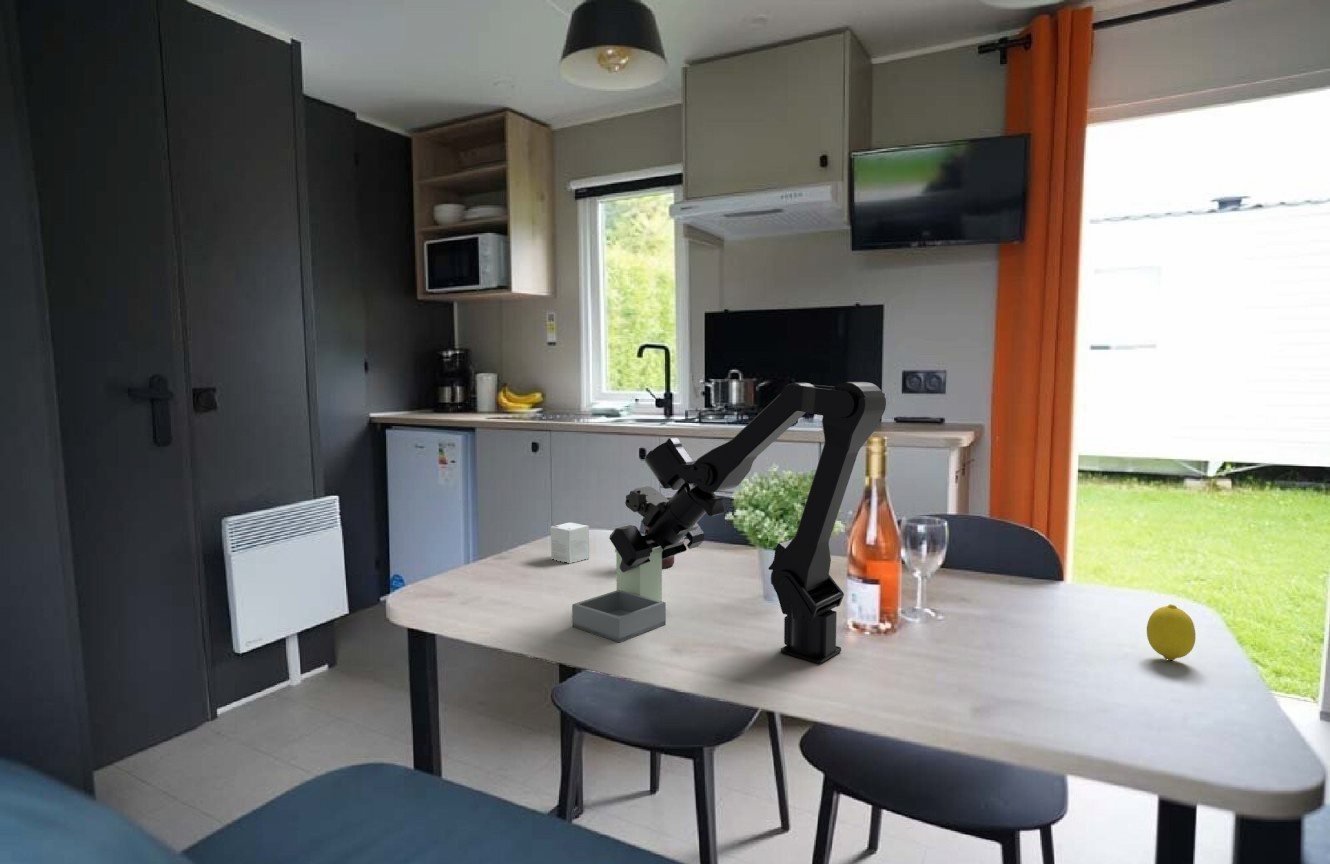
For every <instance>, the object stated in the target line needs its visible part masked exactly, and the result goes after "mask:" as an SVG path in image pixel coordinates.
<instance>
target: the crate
mask: <svg viewBox="0 0 1330 864" xmlns="http://www.w3.org/2000/svg"><path fill="white" fill-rule="evenodd" d="M571 604H572V605H571V611H572V612H571V613H572V614H571V615H572V619H571V622H572V628H575V629H578V630H581V631H584V632H588V633H590V634H593V635H596V636H599V637H601V638H604V639H605V638H606V639H608V640H611V641H613V642H617V643H620V644H621V643H622V642H624V641H627V640H630V639H633V638H635V637H637V636H640V635H643V634H645V633H648V632H650V631H653V630H655V629H657V628H660V627H663V626H666V623H667V619H666V613H667V612H666V611H667V609H666V602H665V601H663V600H662V601H659V600H655V599H651V598H648V597H644V596H640V595H636V594H633V593H629V592H625V591H622V590H617V589H616V590H613V591H610V592H606V593H605V594H601V595H600V594H599V595H598V596H595V597H591V598H587V599H585V600H582V601H578V602H575V603H571Z"/></svg>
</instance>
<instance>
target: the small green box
mask: <svg viewBox="0 0 1330 864" xmlns="http://www.w3.org/2000/svg"><path fill="white" fill-rule="evenodd" d="M614 552H615V553H616V556H615V557H616V569H615V570H616V590H622V591H625V592H629V593H633V594H636V595H640V596H644V597H648V598H651V599H655V600H659V601H662V602H663V569H662V552H663V549H662V548H661V547H658V548H655V549H652V553H651V554H650V557H649V559H650V562H648V563H646V564H643V565H641V566H638V567H636V568H633V569H631V570H628V571H626V572H622V571H621V569H620V564H621V561H622V558H621V556H620V554H619V553H618V551H617V550H616V548H615V549H614Z"/></svg>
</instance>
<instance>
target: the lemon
mask: <svg viewBox="0 0 1330 864" xmlns="http://www.w3.org/2000/svg"><path fill="white" fill-rule="evenodd" d="M1150 614H1151V615H1150V616H1149V618H1148V621H1147V624H1146V637H1147V640H1148V643H1149V645H1150V647H1151V648H1152V650H1154V651H1155V652H1156V653H1157V654H1158V655H1160V656H1162V657H1163V658H1164V660H1166V659H1168V660H1173V661H1174V660H1176V659H1179V658H1180V659H1181V658H1184V657H1185V656H1187V655H1189V653H1190V652H1192V650H1193V649H1194V646H1195V643H1196V628H1195V624H1194V621H1193V619H1192V617H1190V615H1189V614H1187V612H1185V611H1184V610H1183V609H1181V608H1180V607H1177V605H1175V604H1172V603H1171V604H1168V605H1165V606H1162V607H1159V608H1157V609H1155V610H1154V611H1153V612H1152V613H1150Z"/></svg>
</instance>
